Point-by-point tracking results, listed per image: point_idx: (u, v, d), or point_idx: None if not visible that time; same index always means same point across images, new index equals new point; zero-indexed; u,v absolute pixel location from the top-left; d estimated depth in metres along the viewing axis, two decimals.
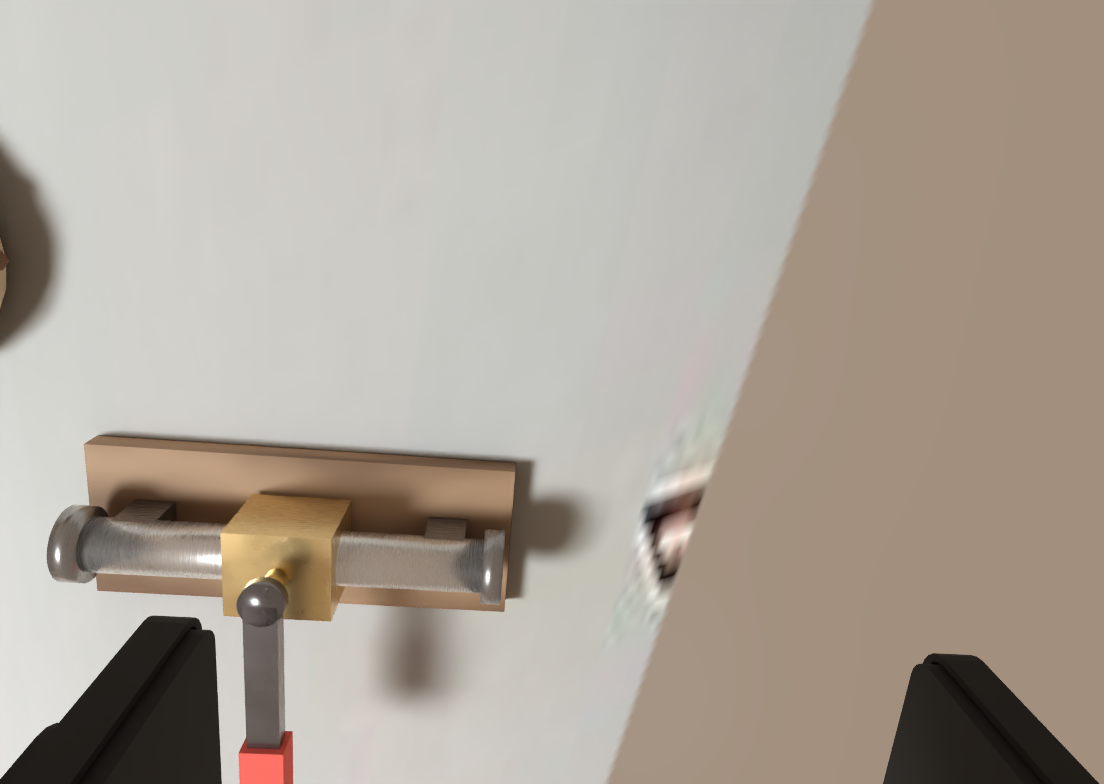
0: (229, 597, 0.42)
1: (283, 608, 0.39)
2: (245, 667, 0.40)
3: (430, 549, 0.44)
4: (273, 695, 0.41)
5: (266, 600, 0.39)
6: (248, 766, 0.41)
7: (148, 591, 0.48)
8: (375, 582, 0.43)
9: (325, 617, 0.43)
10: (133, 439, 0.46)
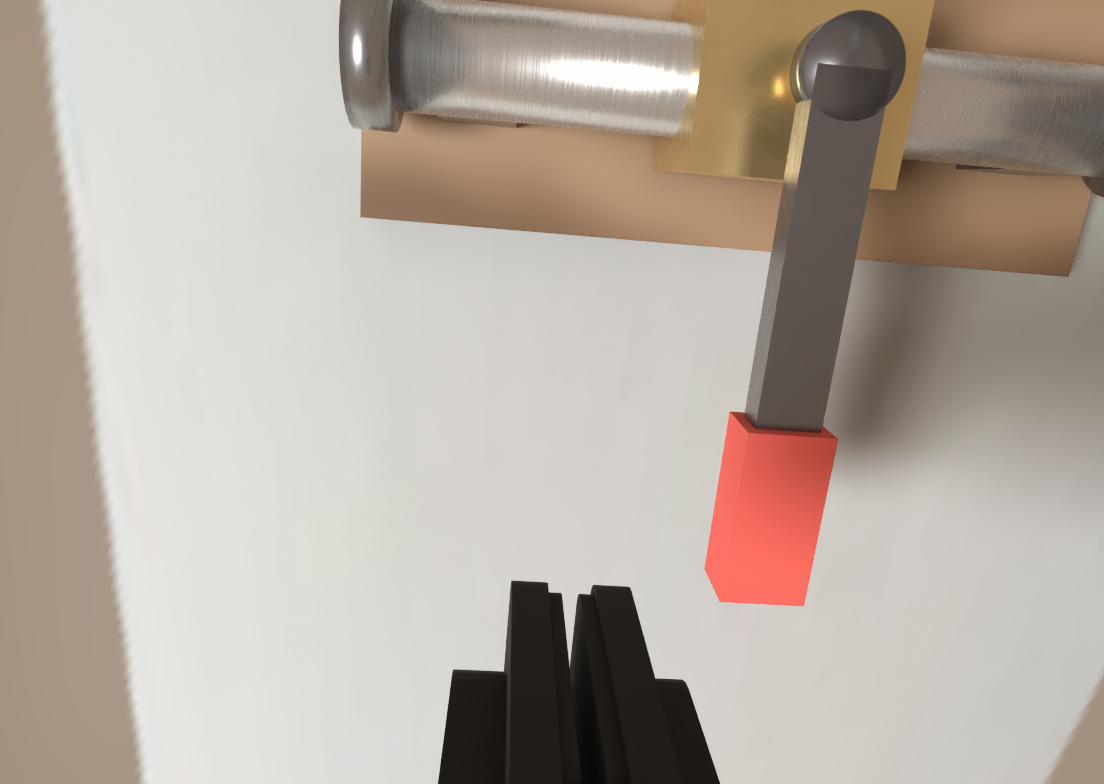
0: (705, 126, 0.20)
1: (901, 76, 0.18)
2: (793, 226, 0.18)
3: (1067, 66, 0.22)
4: (836, 299, 0.19)
5: (873, 48, 0.17)
6: (762, 465, 0.20)
7: (451, 221, 0.26)
8: (967, 124, 0.22)
9: (886, 180, 0.21)
10: None
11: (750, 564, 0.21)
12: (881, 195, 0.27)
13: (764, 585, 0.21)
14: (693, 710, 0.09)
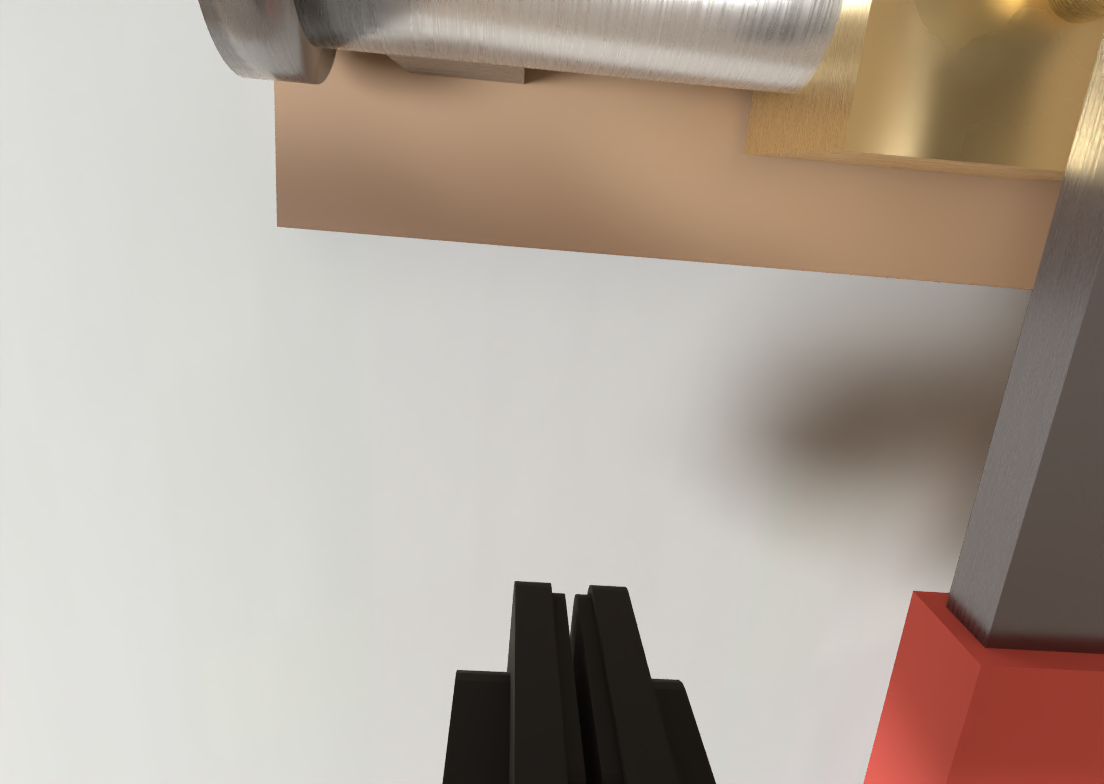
0: (884, 64, 0.11)
1: None
2: None
3: None
4: None
5: None
6: (1000, 721, 0.10)
7: (421, 233, 0.17)
8: None
9: None
10: None
11: None
12: None
13: None
14: (689, 711, 0.09)
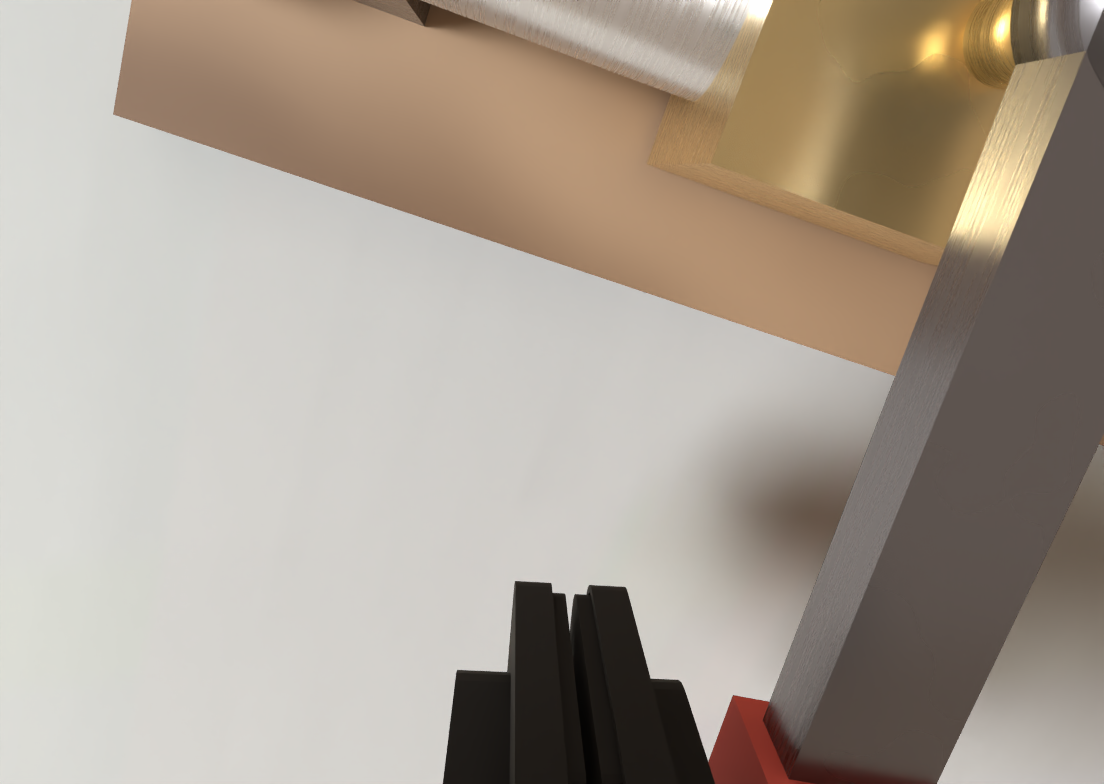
0: (774, 76, 0.09)
1: None
2: (967, 363, 0.07)
3: None
4: (1026, 539, 0.08)
5: None
6: None
7: (278, 163, 0.15)
8: None
9: None
10: None
11: None
12: None
13: None
14: (688, 710, 0.09)
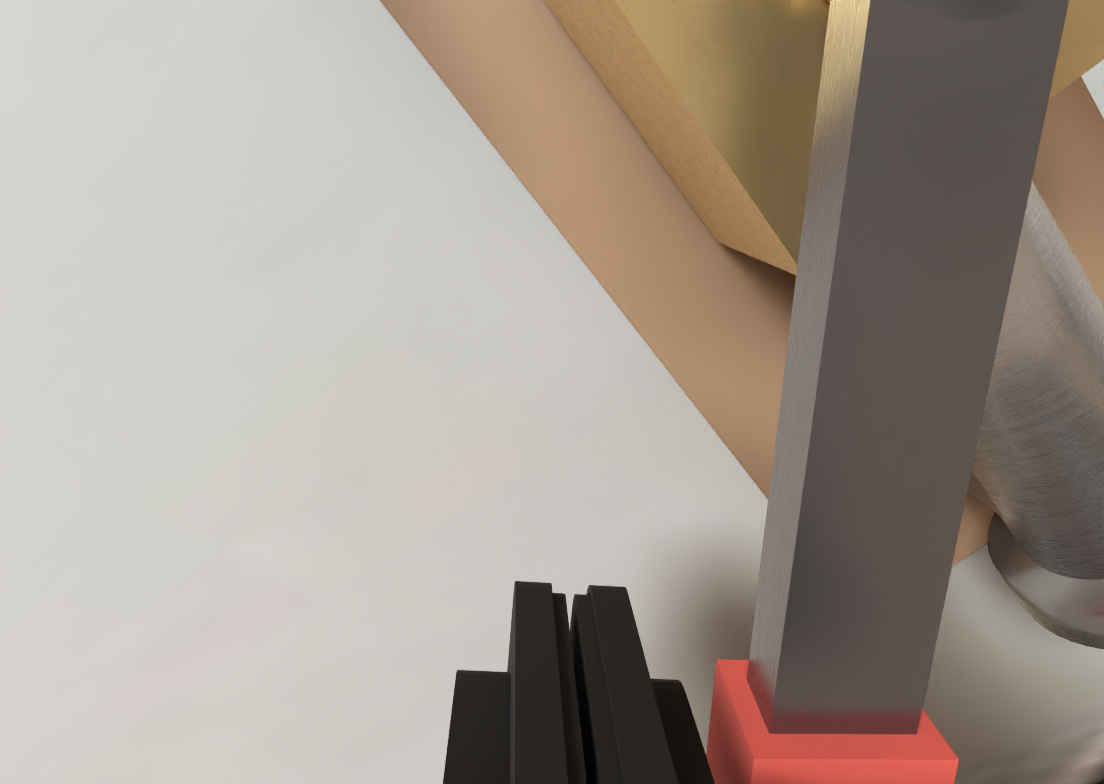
0: None
1: None
2: (837, 297, 0.07)
3: None
4: (947, 457, 0.08)
5: None
6: None
7: None
8: None
9: None
10: None
11: None
12: (769, 328, 0.16)
13: None
14: (688, 710, 0.09)
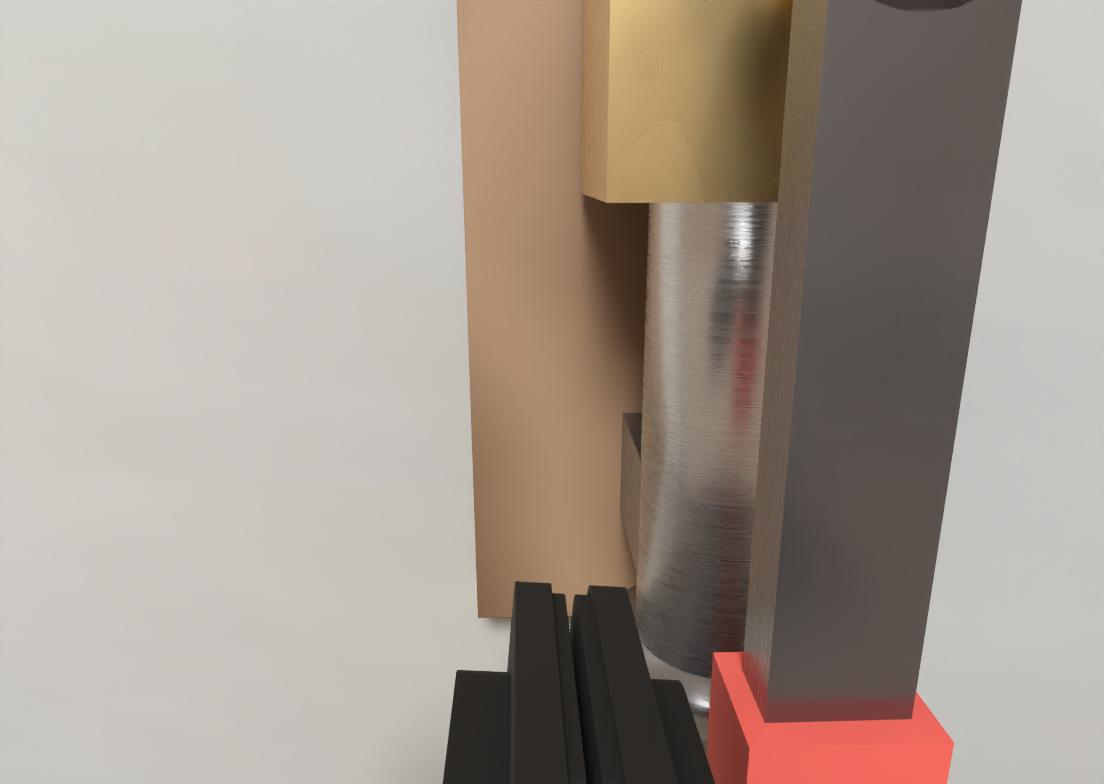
0: None
1: None
2: (811, 287, 0.08)
3: None
4: (927, 442, 0.08)
5: None
6: None
7: None
8: (724, 347, 0.12)
9: (625, 178, 0.10)
10: None
11: None
12: (573, 303, 0.16)
13: None
14: (688, 710, 0.09)
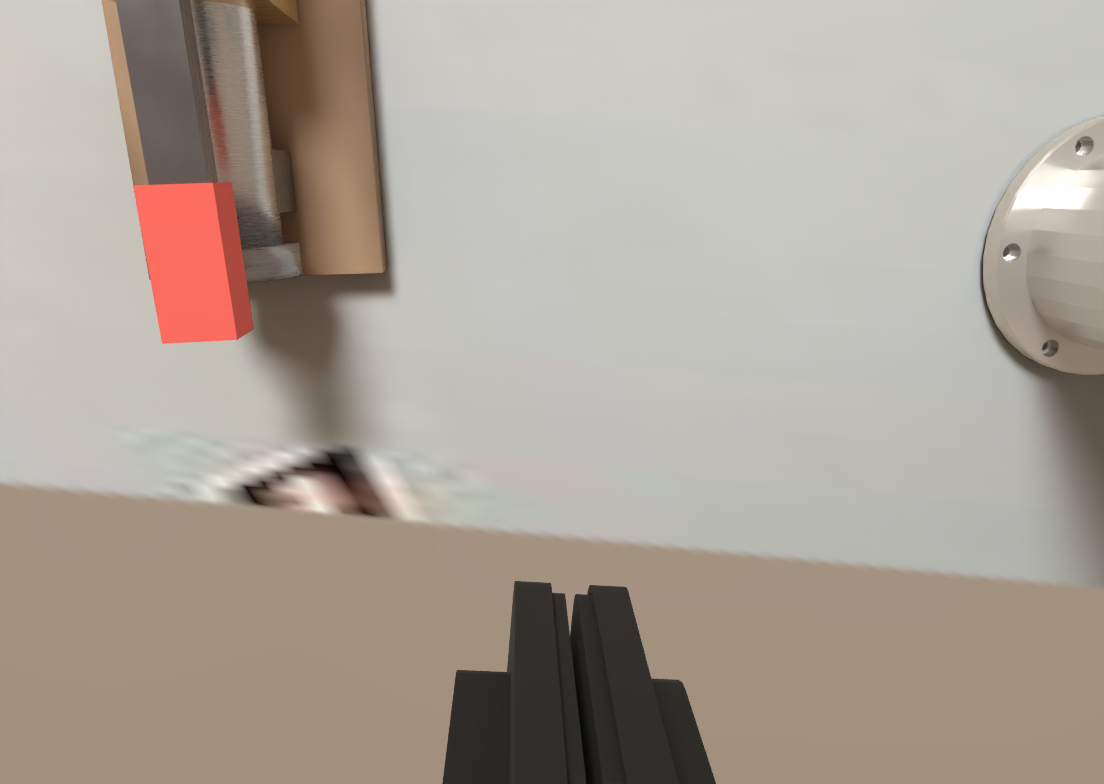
0: None
1: None
2: None
3: (259, 162, 0.28)
4: (178, 60, 0.23)
5: None
6: (155, 213, 0.23)
7: None
8: None
9: None
10: None
11: (177, 306, 0.24)
12: None
13: (196, 324, 0.24)
14: (689, 710, 0.09)
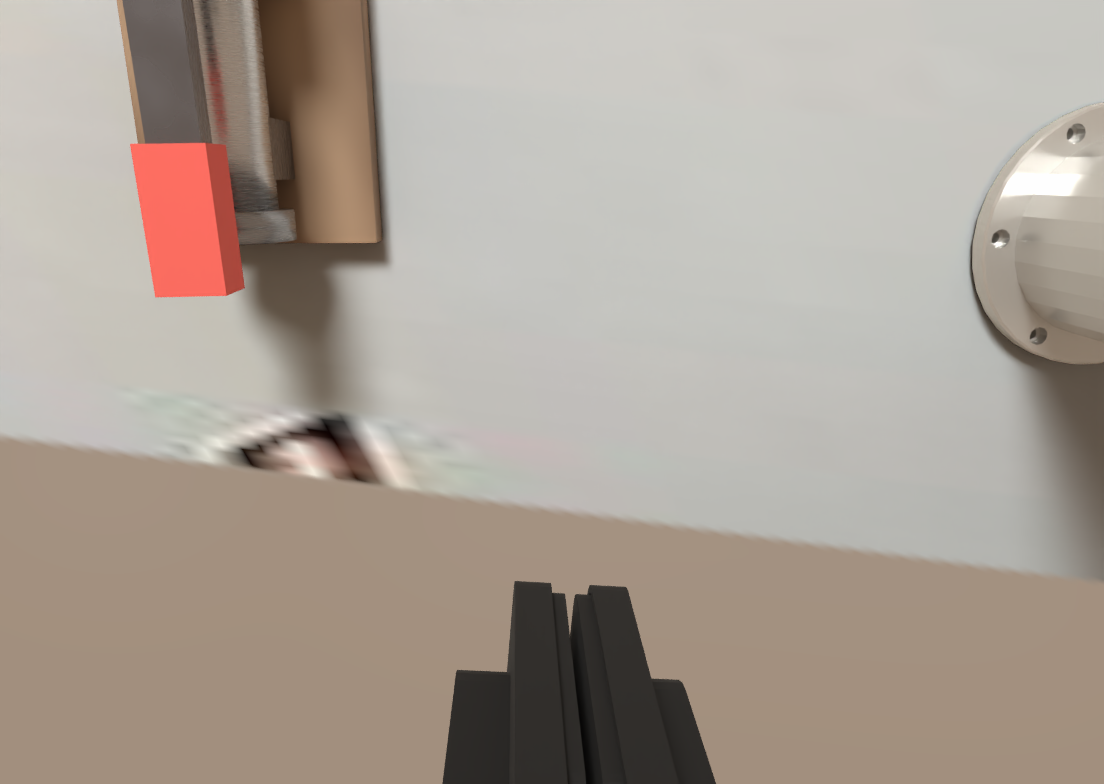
0: None
1: None
2: None
3: (256, 129, 0.29)
4: (174, 24, 0.24)
5: None
6: (150, 171, 0.25)
7: None
8: None
9: None
10: None
11: (169, 261, 0.25)
12: None
13: (187, 279, 0.26)
14: (689, 710, 0.09)
